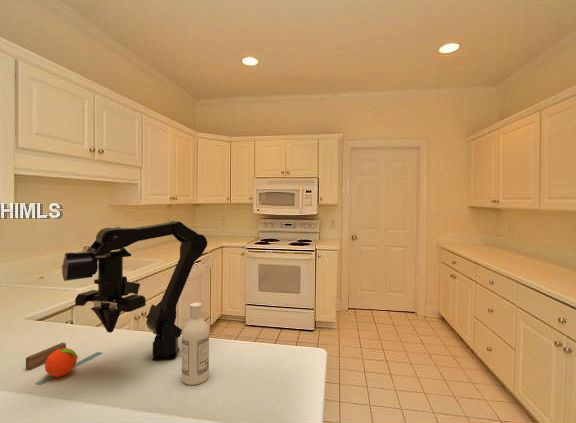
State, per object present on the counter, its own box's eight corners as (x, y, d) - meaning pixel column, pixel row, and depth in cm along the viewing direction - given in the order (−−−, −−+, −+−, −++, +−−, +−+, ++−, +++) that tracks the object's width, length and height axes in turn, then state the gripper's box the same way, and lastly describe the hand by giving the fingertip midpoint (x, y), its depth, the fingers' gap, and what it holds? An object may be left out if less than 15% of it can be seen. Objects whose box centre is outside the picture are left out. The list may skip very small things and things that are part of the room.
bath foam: (210, 370, 84) (211, 299, 83) (206, 385, 77) (206, 308, 76) (185, 371, 83) (185, 300, 83) (178, 386, 76) (179, 308, 76)
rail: (66, 354, 92) (66, 343, 92) (29, 371, 83) (29, 358, 83) (62, 353, 93) (62, 342, 93) (25, 370, 83) (25, 357, 83)
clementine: (85, 368, 84) (87, 343, 84) (68, 383, 77) (70, 356, 77) (57, 366, 84) (58, 341, 84) (37, 381, 77) (38, 354, 77)
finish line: (102, 353, 93) (102, 352, 93) (40, 386, 76) (40, 385, 76) (97, 352, 94) (97, 351, 94) (34, 384, 76) (34, 383, 76)
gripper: (160, 271, 85) (159, 325, 85) (109, 266, 91) (109, 317, 91) (129, 279, 75) (128, 341, 75) (73, 274, 80) (73, 332, 80)
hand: (110, 331), depth 80 cm, fingers closed
